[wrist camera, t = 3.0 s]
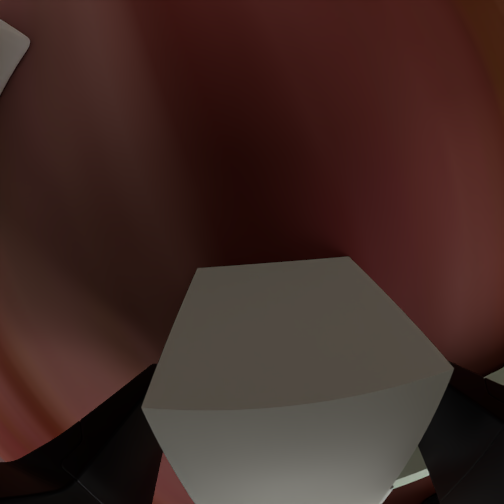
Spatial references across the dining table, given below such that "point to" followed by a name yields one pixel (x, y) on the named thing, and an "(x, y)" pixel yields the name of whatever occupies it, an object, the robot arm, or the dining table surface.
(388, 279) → the dining table surface
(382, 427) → the grey cube block
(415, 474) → the pale green curved bar
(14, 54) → the medicine bottle
